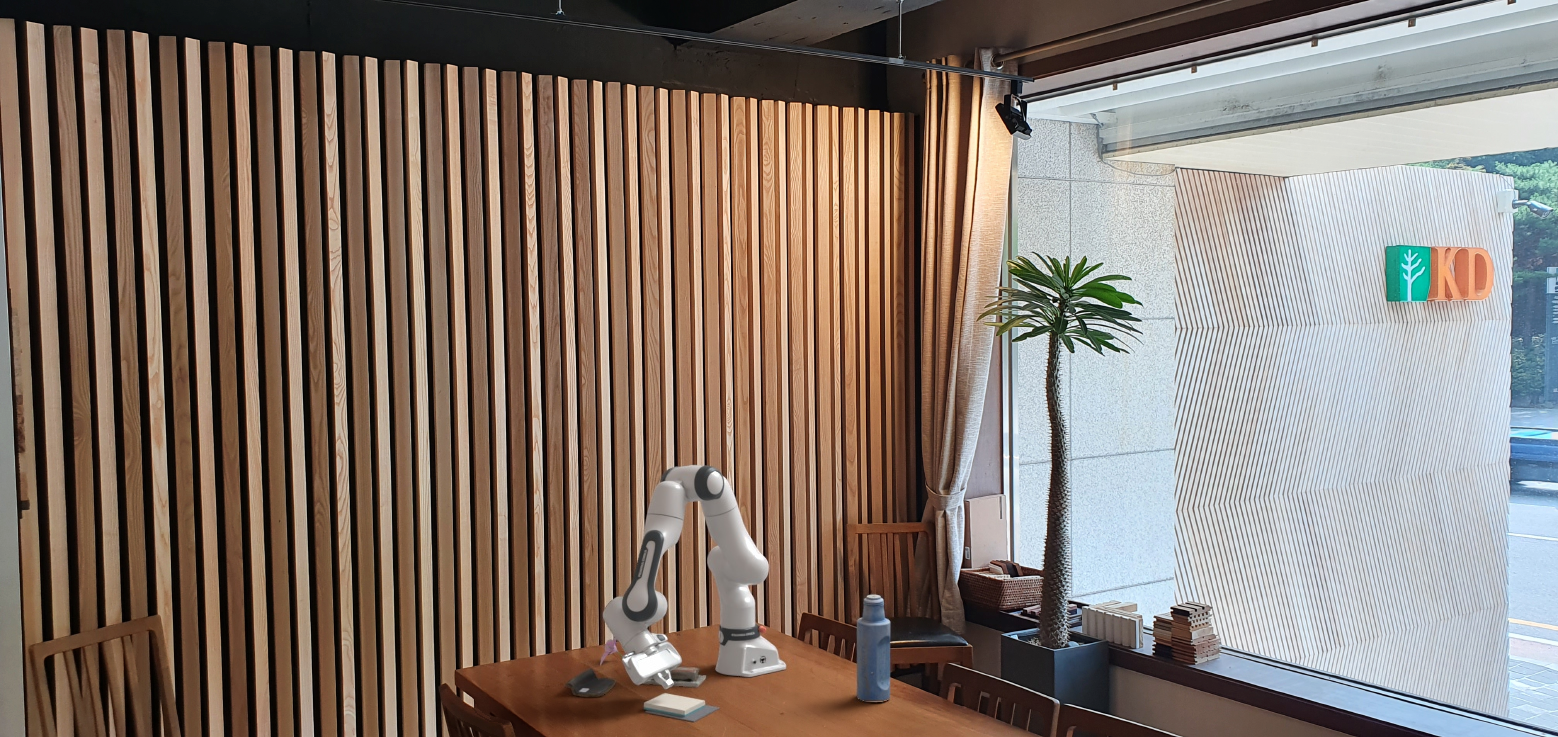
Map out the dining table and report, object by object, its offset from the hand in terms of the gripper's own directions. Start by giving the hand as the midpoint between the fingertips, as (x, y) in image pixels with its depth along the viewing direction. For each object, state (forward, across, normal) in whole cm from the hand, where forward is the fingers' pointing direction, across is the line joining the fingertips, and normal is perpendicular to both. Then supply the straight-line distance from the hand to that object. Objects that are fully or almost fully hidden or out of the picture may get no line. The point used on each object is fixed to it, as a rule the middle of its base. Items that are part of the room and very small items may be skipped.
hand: (669, 686), depth 310 cm
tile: (0, 0, +7) cm, 7 cm away
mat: (+7, 0, +1) cm, 7 cm away
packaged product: (-5, +22, +15) cm, 27 cm away
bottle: (+38, +36, -29) cm, 59 cm away
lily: (-27, +29, +36) cm, 53 cm away
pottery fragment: (-17, +2, +26) cm, 31 cm away
